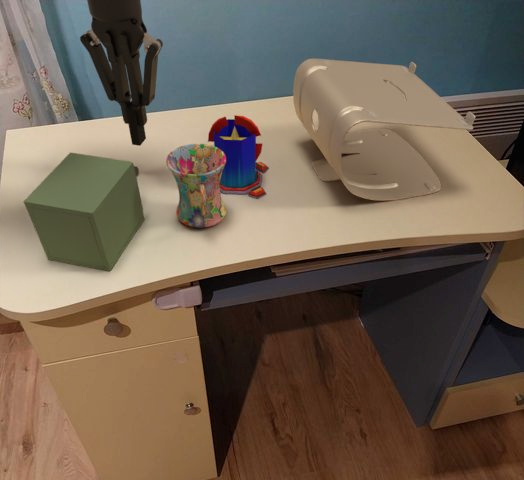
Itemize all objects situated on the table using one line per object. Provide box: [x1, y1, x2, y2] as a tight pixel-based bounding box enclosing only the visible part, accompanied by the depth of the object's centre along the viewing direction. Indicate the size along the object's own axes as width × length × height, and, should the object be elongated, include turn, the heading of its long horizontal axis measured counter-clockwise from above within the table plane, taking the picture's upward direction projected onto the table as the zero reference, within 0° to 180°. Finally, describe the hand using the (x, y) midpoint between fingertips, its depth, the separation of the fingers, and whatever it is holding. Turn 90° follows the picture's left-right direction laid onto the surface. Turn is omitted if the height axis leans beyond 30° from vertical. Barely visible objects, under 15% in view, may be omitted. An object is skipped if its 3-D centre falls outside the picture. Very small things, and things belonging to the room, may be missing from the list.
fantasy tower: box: [207, 114, 270, 200], centre depth 88 cm, size 12×12×12 cm
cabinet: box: [23, 152, 146, 272], centre depth 77 cm, size 14×11×11 cm
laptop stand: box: [292, 57, 476, 202], centre depth 90 cm, size 26×24×16 cm
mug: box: [165, 143, 227, 228], centre depth 80 cm, size 12×9×11 cm
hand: (139, 141), depth 89 cm, fingers closed
